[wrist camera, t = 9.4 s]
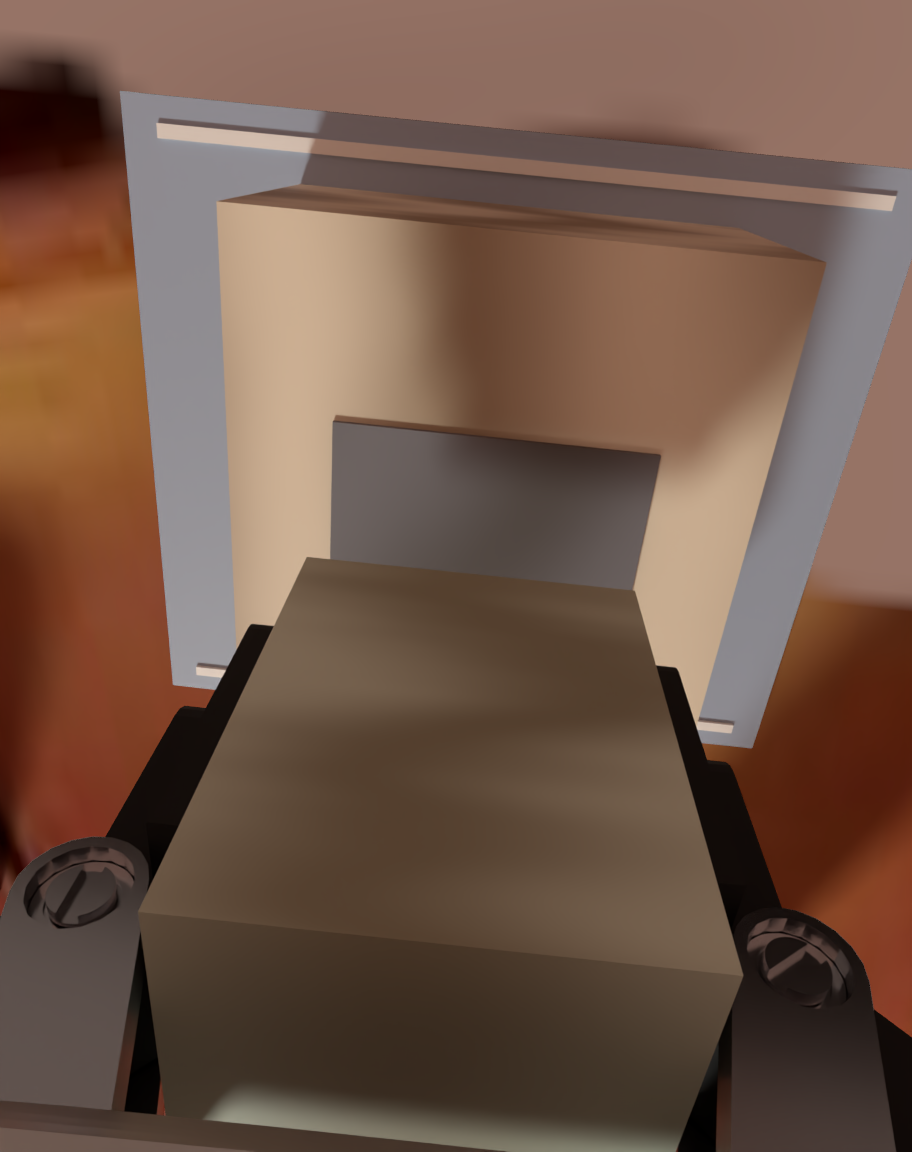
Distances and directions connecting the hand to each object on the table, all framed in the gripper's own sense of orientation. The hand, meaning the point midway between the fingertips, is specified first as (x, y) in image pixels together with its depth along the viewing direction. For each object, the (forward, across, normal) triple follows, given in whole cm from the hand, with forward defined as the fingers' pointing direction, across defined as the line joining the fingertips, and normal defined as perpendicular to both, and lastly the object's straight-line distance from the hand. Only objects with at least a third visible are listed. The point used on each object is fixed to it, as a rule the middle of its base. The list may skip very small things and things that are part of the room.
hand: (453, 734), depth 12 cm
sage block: (+1, 0, 0) cm, 1 cm away
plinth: (+11, 0, 0) cm, 11 cm away
